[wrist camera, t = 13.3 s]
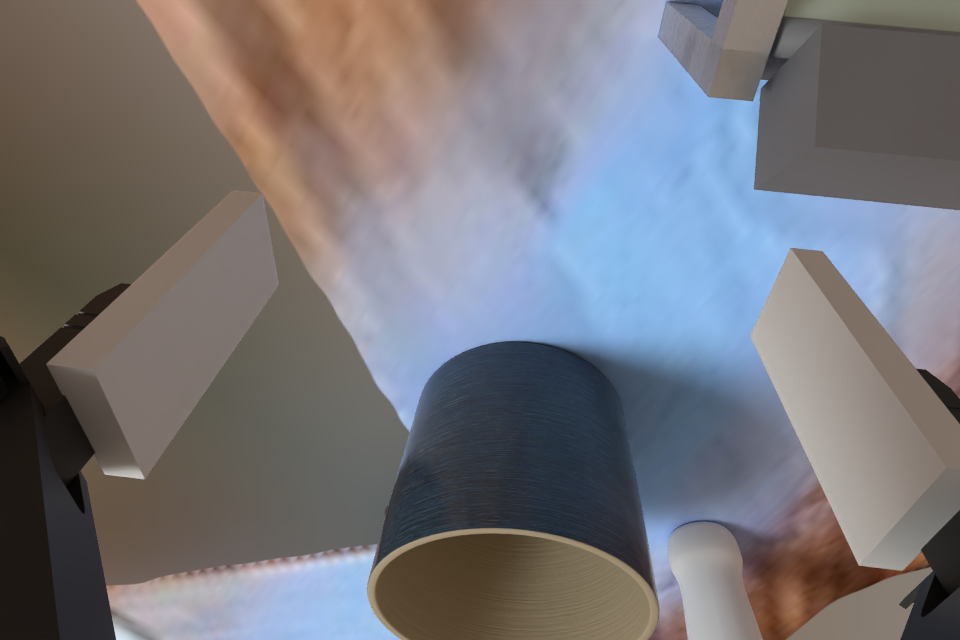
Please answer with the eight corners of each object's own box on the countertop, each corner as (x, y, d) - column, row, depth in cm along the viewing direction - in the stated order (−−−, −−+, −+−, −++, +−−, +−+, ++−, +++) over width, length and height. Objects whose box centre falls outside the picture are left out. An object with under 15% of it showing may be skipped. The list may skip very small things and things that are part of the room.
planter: (382, 436, 63) (326, 621, 47) (478, 299, 50) (447, 486, 34) (549, 508, 68) (551, 696, 52) (673, 399, 55) (726, 602, 39)
